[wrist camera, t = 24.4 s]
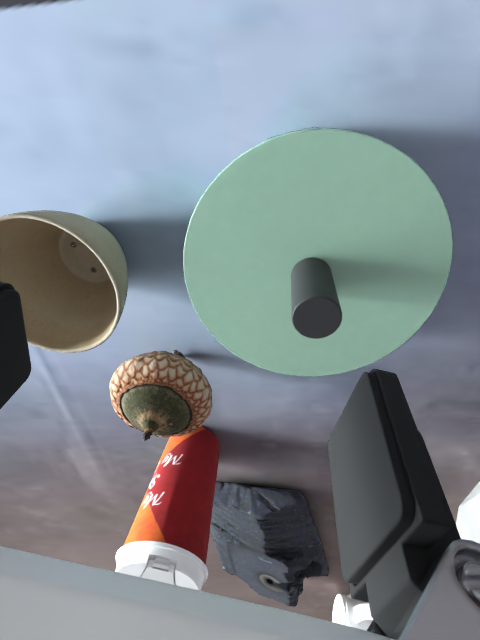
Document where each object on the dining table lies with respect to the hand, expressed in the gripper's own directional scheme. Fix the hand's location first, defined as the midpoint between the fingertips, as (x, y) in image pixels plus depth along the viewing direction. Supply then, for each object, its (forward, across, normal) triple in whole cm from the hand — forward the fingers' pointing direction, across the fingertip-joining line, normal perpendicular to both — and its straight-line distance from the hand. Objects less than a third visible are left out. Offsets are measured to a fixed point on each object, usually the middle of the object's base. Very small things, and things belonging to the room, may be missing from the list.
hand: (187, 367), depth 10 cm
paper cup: (+19, 0, +28) cm, 33 cm away
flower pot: (+19, +12, +7) cm, 24 cm away
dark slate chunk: (+18, -11, +41) cm, 46 cm away
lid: (+13, -5, +2) cm, 14 cm away
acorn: (+19, +3, +16) cm, 25 cm away
